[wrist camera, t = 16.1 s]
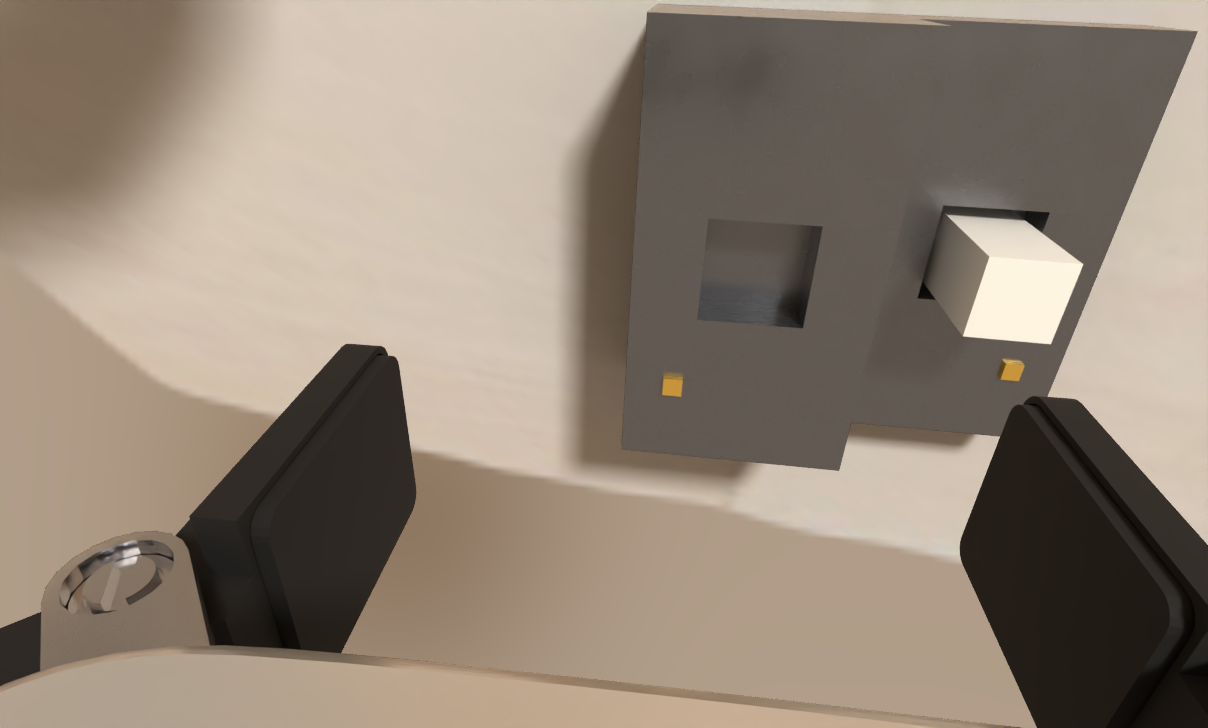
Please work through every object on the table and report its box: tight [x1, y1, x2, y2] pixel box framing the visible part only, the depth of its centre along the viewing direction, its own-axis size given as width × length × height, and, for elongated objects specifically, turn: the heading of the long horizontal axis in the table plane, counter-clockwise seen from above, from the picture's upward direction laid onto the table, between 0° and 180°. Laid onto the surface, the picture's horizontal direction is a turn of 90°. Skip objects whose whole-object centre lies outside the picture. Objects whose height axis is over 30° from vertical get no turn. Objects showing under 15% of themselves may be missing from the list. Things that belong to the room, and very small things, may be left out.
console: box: [621, 4, 1198, 471], centre depth 37 cm, size 22×24×9 cm
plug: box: [922, 206, 1083, 344], centre depth 35 cm, size 4×4×8 cm
